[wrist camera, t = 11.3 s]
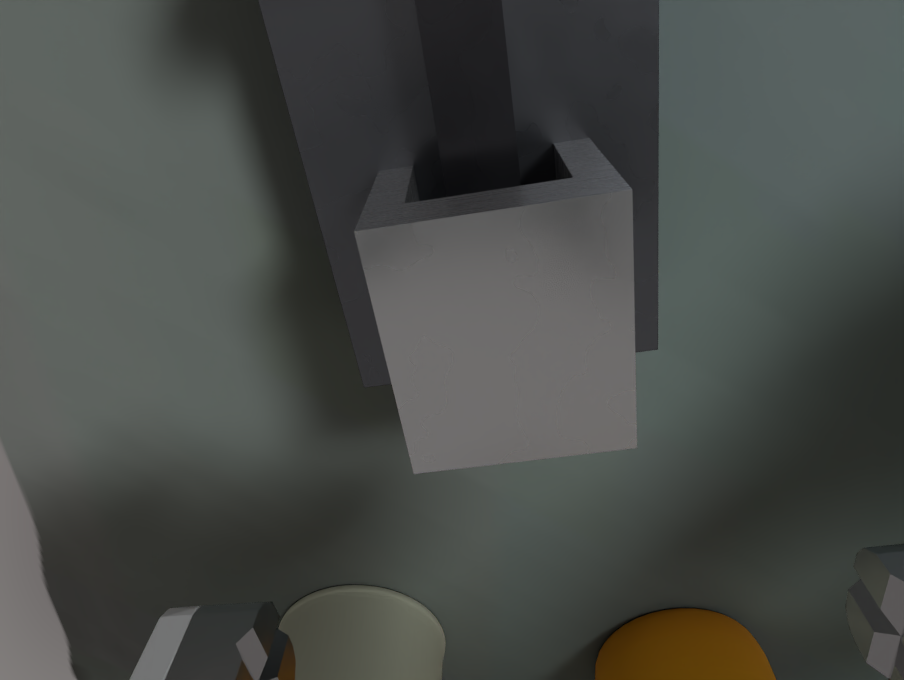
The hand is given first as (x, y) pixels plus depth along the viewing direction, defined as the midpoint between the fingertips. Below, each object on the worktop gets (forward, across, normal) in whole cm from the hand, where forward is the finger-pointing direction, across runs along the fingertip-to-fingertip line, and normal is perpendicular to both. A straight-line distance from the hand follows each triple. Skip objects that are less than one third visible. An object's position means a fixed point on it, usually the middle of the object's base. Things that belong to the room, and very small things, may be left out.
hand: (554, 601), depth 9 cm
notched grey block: (+12, 0, 0) cm, 12 cm away
